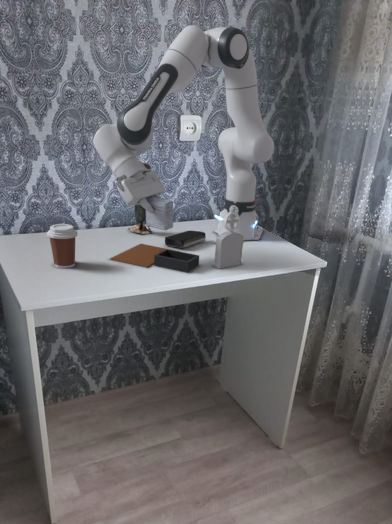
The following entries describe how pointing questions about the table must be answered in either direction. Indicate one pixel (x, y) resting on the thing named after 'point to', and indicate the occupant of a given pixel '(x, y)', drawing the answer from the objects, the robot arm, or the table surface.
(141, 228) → the plant with pod
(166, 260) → the frame
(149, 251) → the desk pad
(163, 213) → the medicine box
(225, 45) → the robot arm
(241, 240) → the gravestone
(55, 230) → the coffee cup
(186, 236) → the black sponge
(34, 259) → the table surface
